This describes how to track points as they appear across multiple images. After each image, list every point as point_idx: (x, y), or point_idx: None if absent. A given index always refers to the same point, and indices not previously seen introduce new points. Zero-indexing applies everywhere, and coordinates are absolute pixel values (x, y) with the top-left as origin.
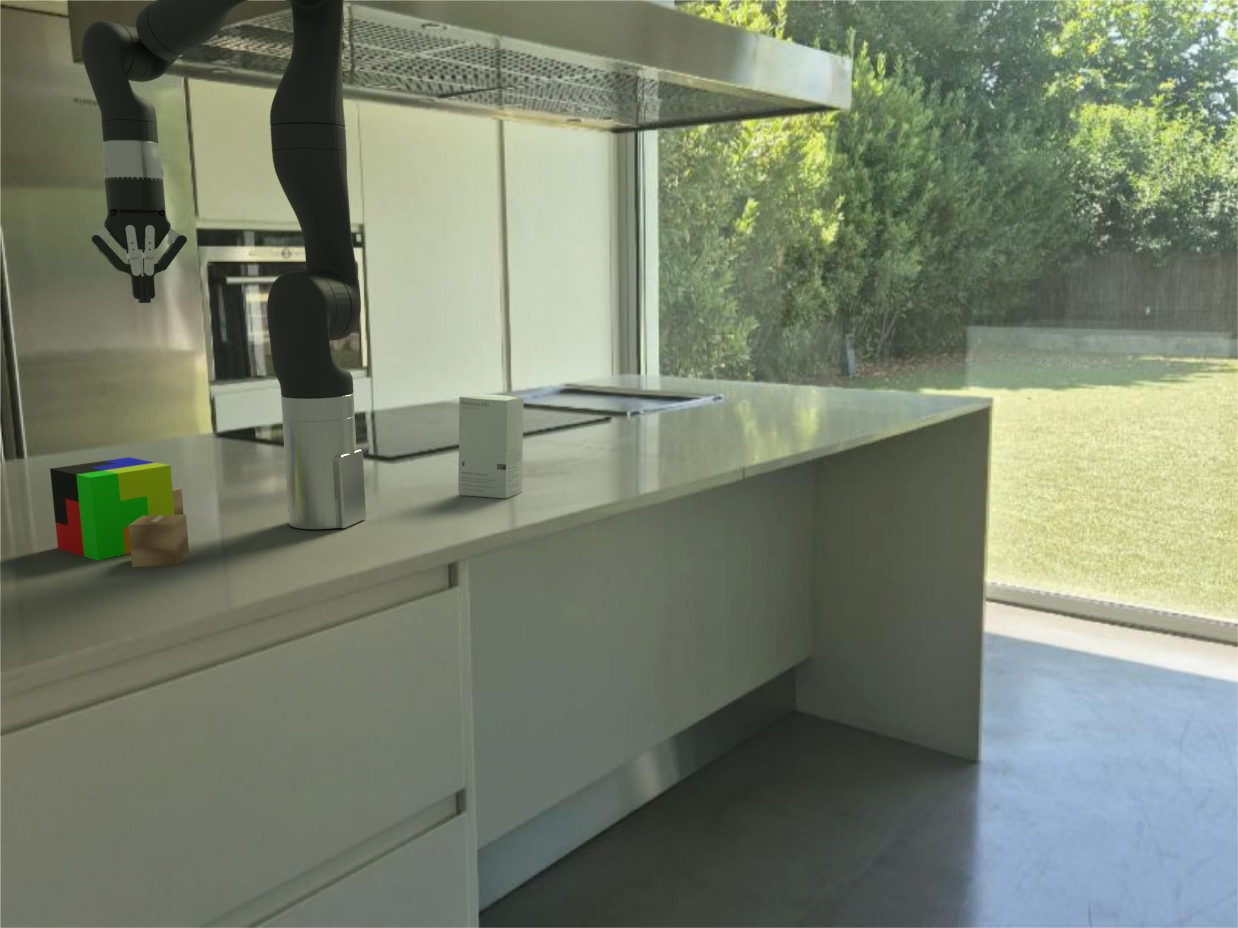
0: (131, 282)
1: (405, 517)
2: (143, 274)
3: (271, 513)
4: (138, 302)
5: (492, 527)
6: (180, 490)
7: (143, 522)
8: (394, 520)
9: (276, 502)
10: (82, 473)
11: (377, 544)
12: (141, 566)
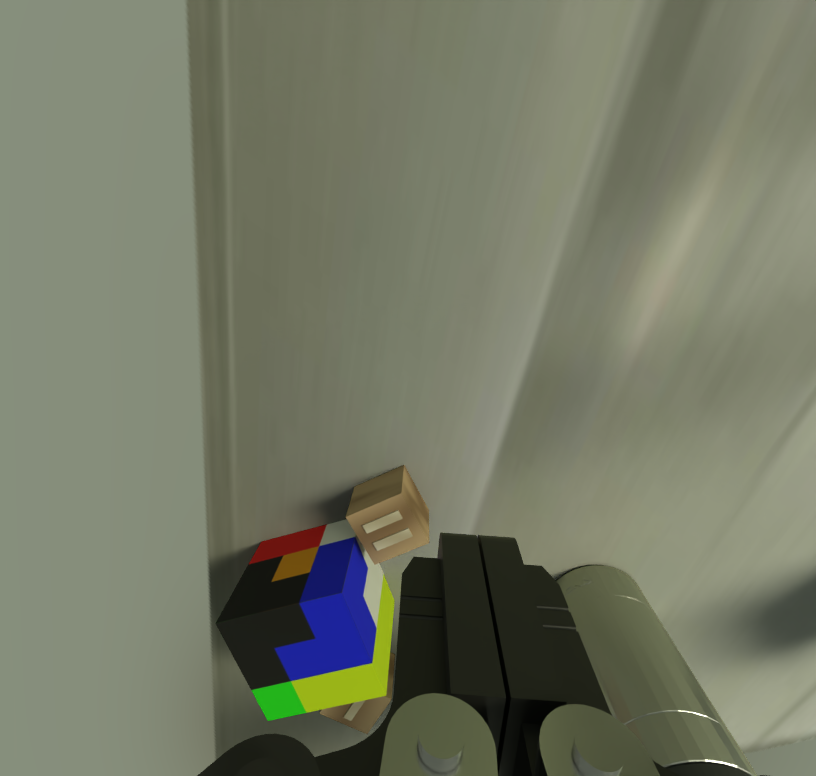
0: (396, 664)
1: (693, 633)
2: (522, 766)
3: (558, 509)
4: (438, 548)
5: (740, 729)
6: (427, 542)
7: (337, 710)
8: (672, 639)
9: (600, 437)
10: (259, 686)
11: None
12: None
